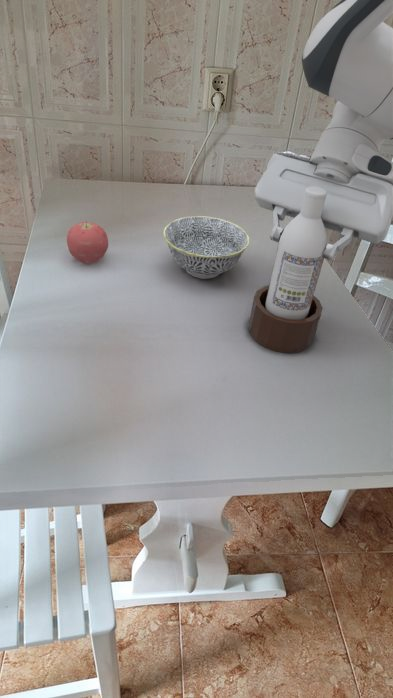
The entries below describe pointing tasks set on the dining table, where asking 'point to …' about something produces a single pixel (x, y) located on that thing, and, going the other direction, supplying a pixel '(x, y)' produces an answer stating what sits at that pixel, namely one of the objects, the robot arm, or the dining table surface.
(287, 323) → the cup
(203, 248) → the bowl
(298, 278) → the bath foam
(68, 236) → the apple
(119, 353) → the dining table surface
